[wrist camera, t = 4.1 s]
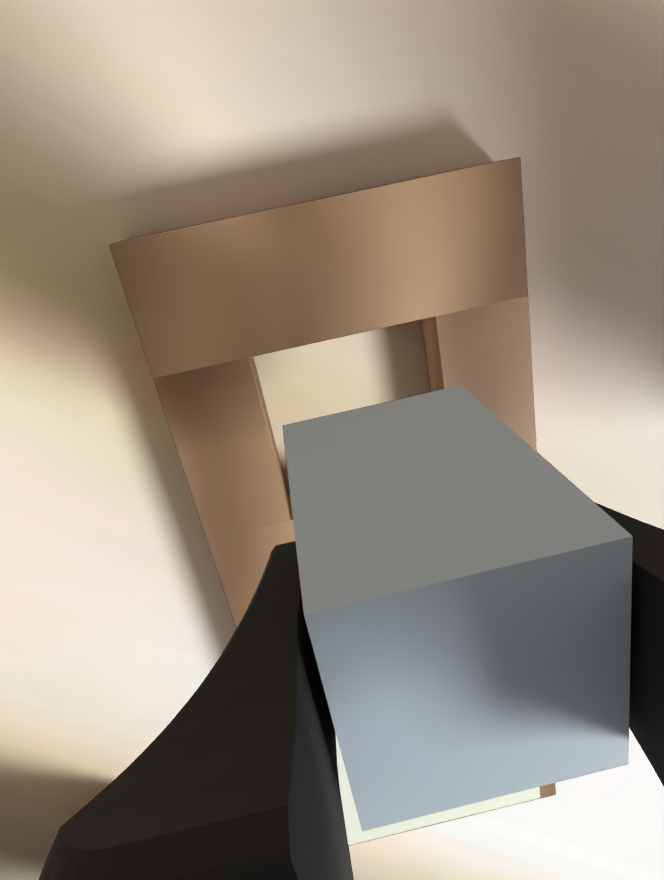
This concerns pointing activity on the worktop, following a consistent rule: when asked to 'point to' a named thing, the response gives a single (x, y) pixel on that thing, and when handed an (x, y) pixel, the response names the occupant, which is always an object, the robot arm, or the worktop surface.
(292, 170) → the worktop surface
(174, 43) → the worktop surface
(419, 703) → the part block
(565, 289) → the worktop surface
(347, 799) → the felt pad
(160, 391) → the pocket board
